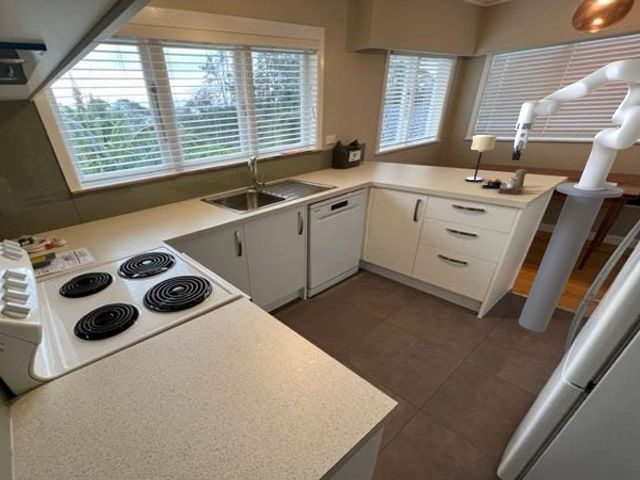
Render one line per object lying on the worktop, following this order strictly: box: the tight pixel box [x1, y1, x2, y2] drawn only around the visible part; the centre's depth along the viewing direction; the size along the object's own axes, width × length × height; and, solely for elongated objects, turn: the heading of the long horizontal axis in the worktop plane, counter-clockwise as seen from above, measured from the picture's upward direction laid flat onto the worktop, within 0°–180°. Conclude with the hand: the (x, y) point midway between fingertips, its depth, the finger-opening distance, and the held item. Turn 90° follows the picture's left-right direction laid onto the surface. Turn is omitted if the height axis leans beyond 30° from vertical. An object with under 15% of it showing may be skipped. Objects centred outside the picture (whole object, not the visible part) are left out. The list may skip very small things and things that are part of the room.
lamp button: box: [491, 177, 500, 182], centre depth 186 cm, size 4×4×2 cm
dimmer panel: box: [498, 184, 523, 196], centre depth 175 cm, size 10×9×3 cm
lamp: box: [465, 134, 498, 183], centre depth 199 cm, size 12×12×29 cm
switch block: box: [482, 179, 506, 190], centre depth 187 cm, size 11×9×4 cm
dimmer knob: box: [506, 177, 518, 188], centre depth 173 cm, size 4×4×6 cm
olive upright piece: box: [514, 168, 528, 189], centre depth 181 cm, size 6×6×11 cm
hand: (515, 158), depth 171 cm, fingers open, 9 cm apart
